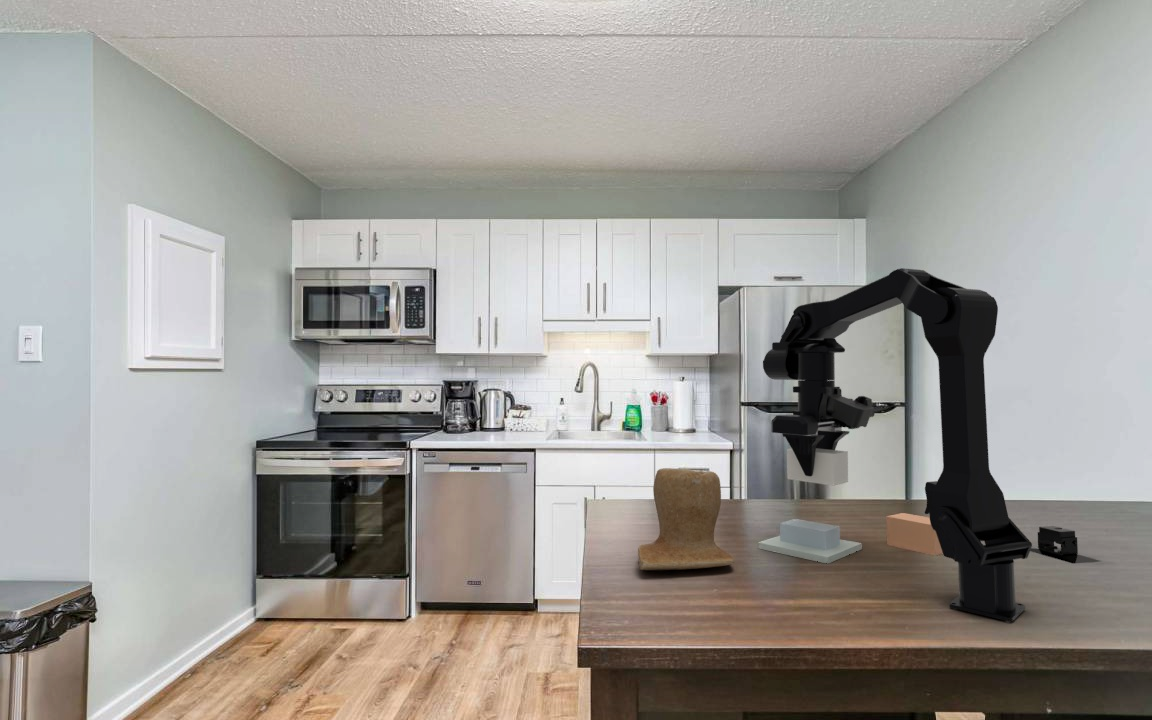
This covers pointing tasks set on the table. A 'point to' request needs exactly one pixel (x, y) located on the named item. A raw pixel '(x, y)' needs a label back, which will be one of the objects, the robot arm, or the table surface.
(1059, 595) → the table surface
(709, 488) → the brown upright flared piece
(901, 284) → the robot arm
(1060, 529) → the black mechanical block
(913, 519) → the terracotta brick
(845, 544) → the baseplate
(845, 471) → the ivory brick
